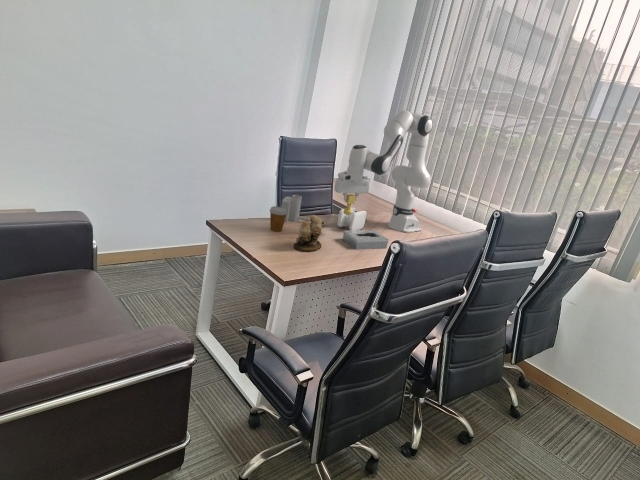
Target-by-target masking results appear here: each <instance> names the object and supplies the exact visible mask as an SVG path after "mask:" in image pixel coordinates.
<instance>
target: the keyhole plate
mask: <svg viewBox="0 0 640 480" xmlns="http://www.w3.org/2000/svg"><path fill="white" fill-rule="evenodd" d="M342 241H344V242H345V243H347V244H348V246H350V247H352V248H353V249H354V250H372V249H373V250H375V249H376V250H377V249H378V250H379V249H380V250H381V249H387V247H388V243H389V238H387V237H386V236H384V235H383V234H381V233H380V232H378V231H377V230H375V229H369V230H367V229H363V230H362V229H361V230H353V231H350V230H344V231H343V235H342Z"/></svg>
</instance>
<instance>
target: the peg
mask: <svg viewBox="0 0 640 480" xmlns="http://www.w3.org/2000/svg"><path fill="white" fill-rule="evenodd" d="M346 196H347V197H348V201H345V200H344V202H345V203H346V207H345V208H343V209H344V214H347V215H351V213H352V209H350V208H351V207H352V205H353V204H354V205H355V202H356V201H355V198H356V196H355V195H353V194H352V193H347V195H346Z"/></svg>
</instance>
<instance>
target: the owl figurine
mask: <svg viewBox="0 0 640 480" xmlns="http://www.w3.org/2000/svg"><path fill="white" fill-rule="evenodd" d="M309 219H310V221H306V220H302V224H301V225H300V227H299V232H298V237H296V239H295V241H296V242H295V243H294V244H293V248H294V249H295V250H296V251H298V252H302V253H315V252H317V251H319V250H320V249H321V248H322V243H321V242H320V241H319V237H321V234H323V233H322V230H323V227H322V225H323V224H322V222H323V221H322V219H321V218H320V217H318V216H317V215H315V214H312V215H311V216H310V218H309Z"/></svg>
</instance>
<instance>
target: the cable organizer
mask: <svg viewBox="0 0 640 480" xmlns="http://www.w3.org/2000/svg"><path fill="white" fill-rule="evenodd" d="M350 209H352V213H351V215H347V214H344V208H341V210H339V213H338V219H337V224H336V226H337V227H339V228H341V229H343V228H344V227H348V228H349V229H348V230H349V231H353V230H362V229H363V228H364V227H365V223H366V219H367V211H365V210H361V211H356V208H355V207H354V206H351V208H350Z"/></svg>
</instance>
